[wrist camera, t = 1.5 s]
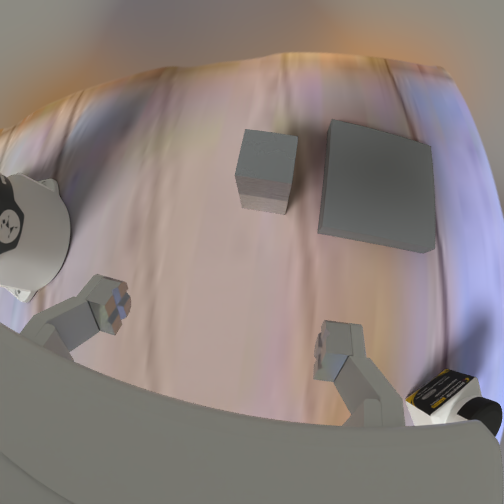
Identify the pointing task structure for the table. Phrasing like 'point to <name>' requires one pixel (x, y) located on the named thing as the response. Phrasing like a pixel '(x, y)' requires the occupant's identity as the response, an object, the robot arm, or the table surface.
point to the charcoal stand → (378, 188)
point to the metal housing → (266, 170)
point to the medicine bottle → (453, 402)
